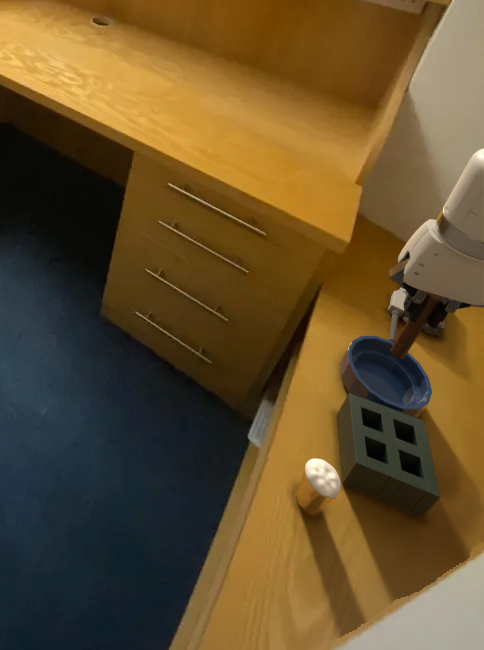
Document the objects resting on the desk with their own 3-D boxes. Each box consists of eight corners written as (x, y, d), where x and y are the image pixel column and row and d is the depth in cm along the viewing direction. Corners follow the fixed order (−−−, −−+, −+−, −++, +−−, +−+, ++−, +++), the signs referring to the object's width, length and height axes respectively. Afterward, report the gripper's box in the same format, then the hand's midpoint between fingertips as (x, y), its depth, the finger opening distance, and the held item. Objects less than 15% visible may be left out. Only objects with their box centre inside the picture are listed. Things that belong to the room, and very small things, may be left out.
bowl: (411, 368, 92) (422, 351, 90) (426, 439, 83) (439, 422, 80) (336, 342, 97) (345, 325, 94) (342, 407, 87) (352, 390, 84)
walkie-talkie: (393, 270, 110) (382, 343, 97) (400, 256, 108) (390, 329, 94) (442, 291, 106) (438, 371, 92) (450, 277, 104) (448, 357, 90)
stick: (403, 349, 81) (439, 290, 74) (405, 361, 80) (443, 301, 72) (389, 345, 82) (424, 286, 74) (391, 356, 80) (427, 297, 73)
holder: (407, 442, 82) (424, 420, 79) (421, 518, 74) (440, 497, 71) (336, 414, 86) (348, 392, 82) (342, 484, 78) (356, 462, 74)
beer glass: (298, 525, 73) (317, 495, 68) (287, 480, 78) (304, 449, 73) (331, 531, 73) (352, 501, 68) (318, 485, 78) (337, 454, 73)
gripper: (535, 229, 67) (475, 314, 77) (397, 196, 73) (356, 279, 82) (560, 274, 61) (492, 360, 71) (408, 234, 67) (363, 319, 76)
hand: (420, 316), depth 76 cm, fingers closed on stick, 2 cm apart
